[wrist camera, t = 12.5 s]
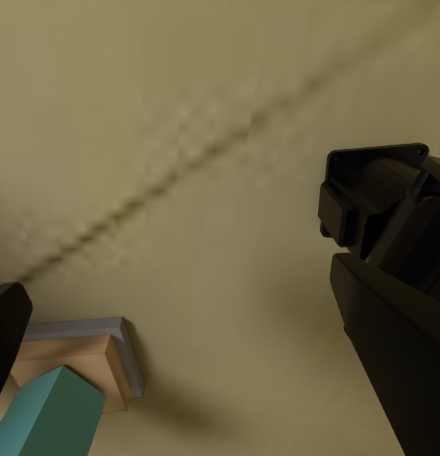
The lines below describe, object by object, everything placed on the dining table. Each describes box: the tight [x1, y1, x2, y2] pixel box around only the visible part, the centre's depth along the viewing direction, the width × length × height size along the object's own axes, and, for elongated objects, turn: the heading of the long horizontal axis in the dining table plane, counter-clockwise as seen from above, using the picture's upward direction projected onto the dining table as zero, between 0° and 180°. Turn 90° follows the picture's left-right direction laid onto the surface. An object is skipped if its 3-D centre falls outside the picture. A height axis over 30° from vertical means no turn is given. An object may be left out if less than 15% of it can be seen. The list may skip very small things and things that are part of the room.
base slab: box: [22, 317, 145, 399], centre depth 30 cm, size 10×10×2 cm
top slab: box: [10, 334, 131, 413], centre depth 28 cm, size 8×8×2 cm
